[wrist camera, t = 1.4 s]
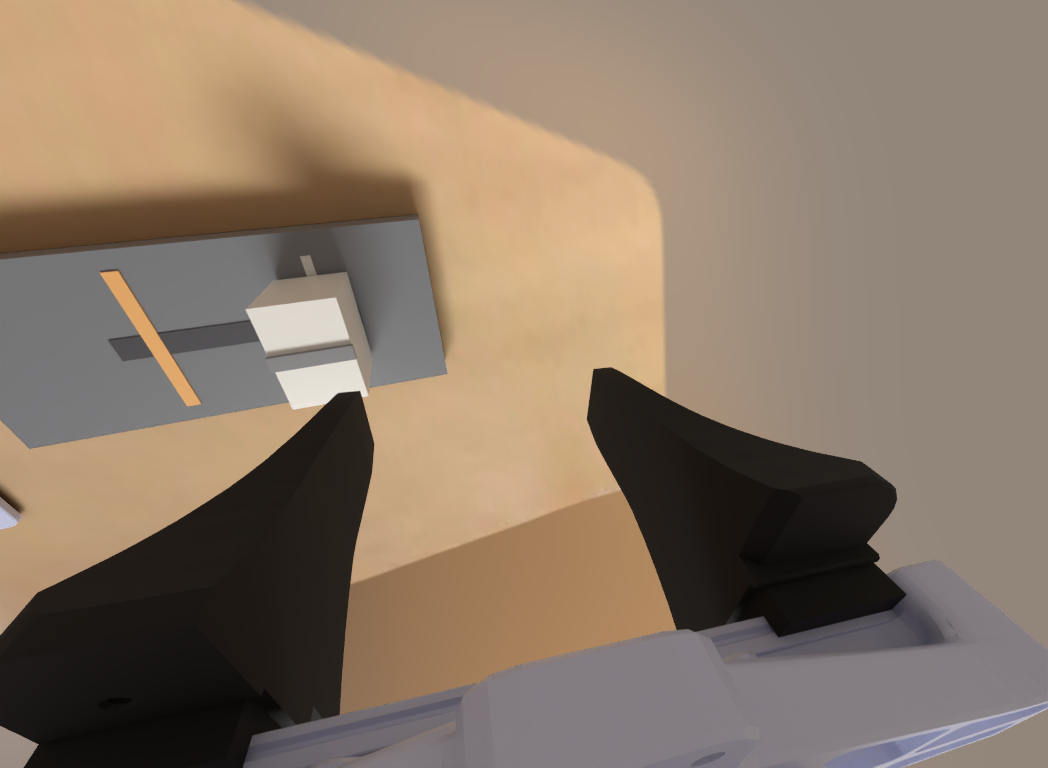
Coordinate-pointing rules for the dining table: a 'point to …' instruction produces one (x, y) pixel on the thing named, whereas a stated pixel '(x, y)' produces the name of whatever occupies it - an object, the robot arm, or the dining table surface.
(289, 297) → the block
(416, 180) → the dining table surface
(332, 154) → the dining table surface
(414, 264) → the console
